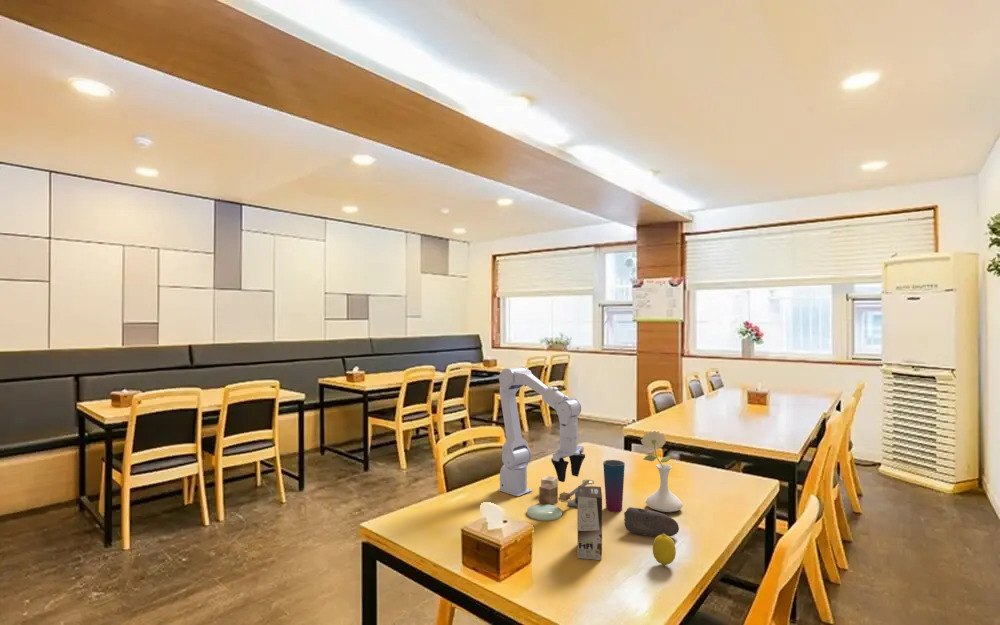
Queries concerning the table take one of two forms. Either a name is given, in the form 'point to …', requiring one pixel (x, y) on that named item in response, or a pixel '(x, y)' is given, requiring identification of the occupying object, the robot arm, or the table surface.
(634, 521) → the perforated stone tool
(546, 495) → the walnut block
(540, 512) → the dish
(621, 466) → the cup
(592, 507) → the coffee box
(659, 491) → the flower in vase
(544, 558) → the table surface
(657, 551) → the lemon
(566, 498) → the balance
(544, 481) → the maple block
